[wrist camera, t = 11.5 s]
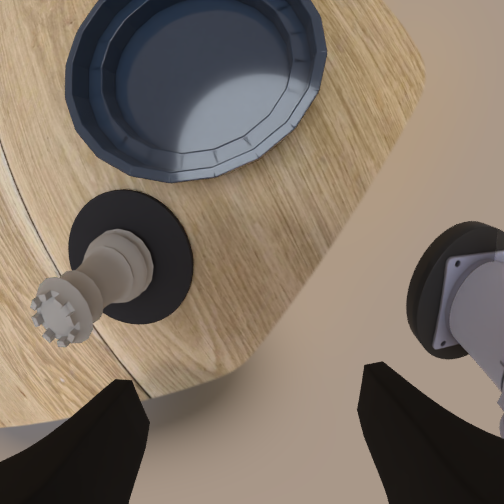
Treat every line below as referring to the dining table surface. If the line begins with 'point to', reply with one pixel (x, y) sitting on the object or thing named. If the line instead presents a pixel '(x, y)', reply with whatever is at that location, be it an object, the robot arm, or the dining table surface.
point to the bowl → (192, 82)
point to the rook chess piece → (92, 287)
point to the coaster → (155, 239)
